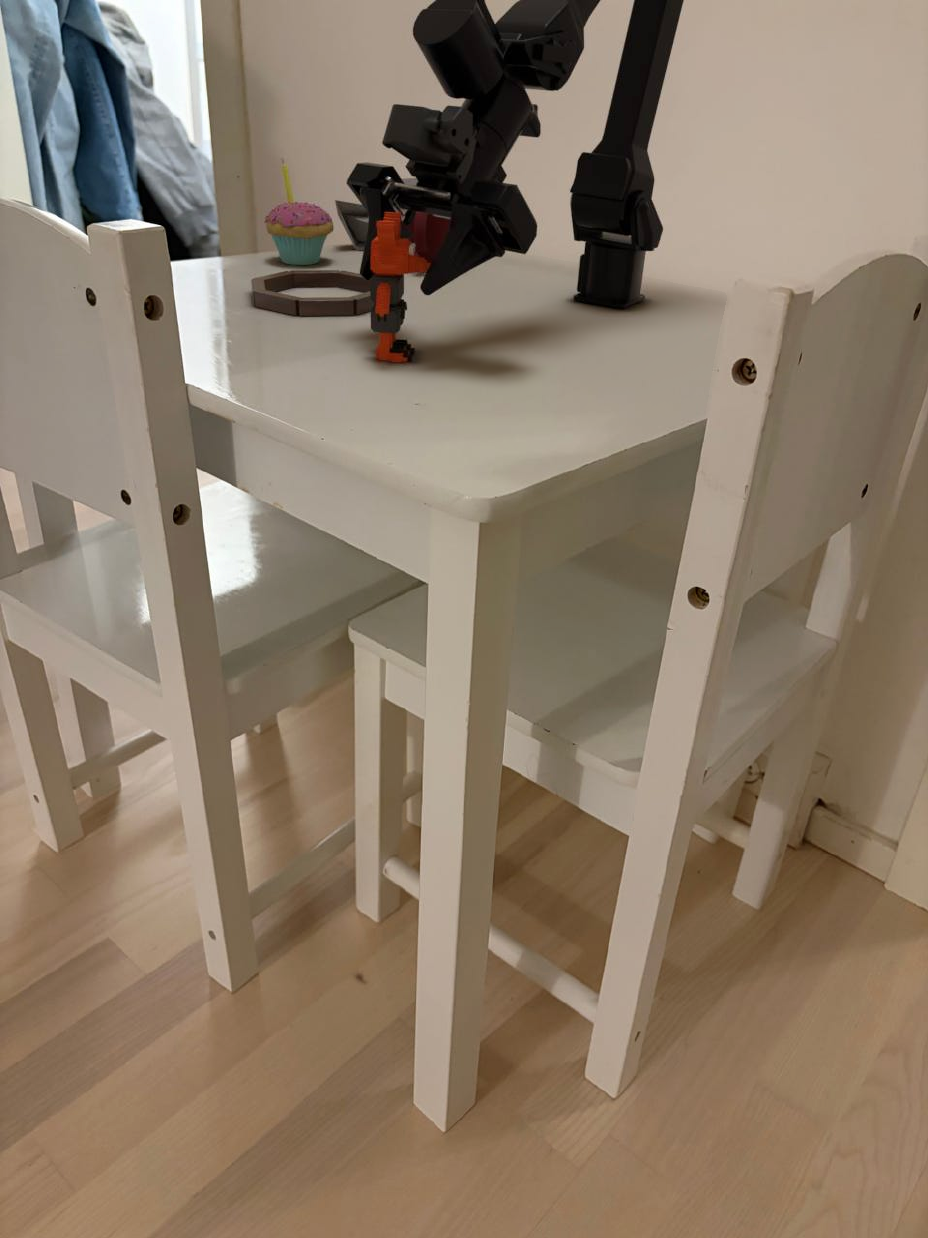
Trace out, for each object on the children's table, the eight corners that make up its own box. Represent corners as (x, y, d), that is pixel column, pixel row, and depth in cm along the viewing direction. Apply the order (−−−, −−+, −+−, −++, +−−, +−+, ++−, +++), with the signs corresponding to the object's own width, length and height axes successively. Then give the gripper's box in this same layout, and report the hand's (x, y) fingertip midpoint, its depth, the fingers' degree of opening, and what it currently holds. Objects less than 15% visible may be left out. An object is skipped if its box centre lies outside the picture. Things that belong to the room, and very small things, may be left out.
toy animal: (428, 370, 85) (431, 226, 78) (367, 367, 85) (365, 223, 79) (436, 346, 92) (439, 211, 85) (380, 342, 92) (379, 208, 85)
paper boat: (404, 233, 136) (428, 225, 128) (385, 274, 137) (408, 269, 128) (331, 184, 131) (352, 173, 122) (311, 227, 131) (330, 219, 123)
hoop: (413, 298, 108) (413, 283, 107) (329, 323, 97) (329, 307, 96) (313, 278, 115) (312, 264, 114) (224, 300, 104) (222, 284, 103)
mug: (458, 277, 118) (461, 190, 113) (393, 275, 118) (393, 187, 112) (456, 260, 127) (458, 178, 122) (395, 258, 127) (395, 176, 121)
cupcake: (254, 263, 121) (247, 158, 114) (289, 252, 127) (284, 153, 121) (314, 271, 118) (310, 164, 112) (346, 259, 125) (344, 158, 119)
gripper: (359, 60, 84) (269, 206, 82) (527, 72, 74) (428, 238, 72) (419, 155, 93) (339, 287, 91) (575, 176, 83) (488, 326, 81)
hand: (392, 284), depth 84 cm, fingers open, 7 cm apart
